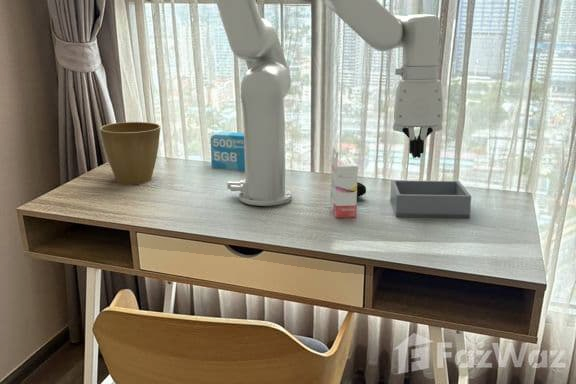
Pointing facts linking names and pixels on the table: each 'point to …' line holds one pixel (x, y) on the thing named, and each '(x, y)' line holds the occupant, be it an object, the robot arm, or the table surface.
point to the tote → (430, 199)
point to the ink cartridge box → (343, 186)
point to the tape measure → (360, 189)
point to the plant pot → (131, 150)
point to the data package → (228, 151)
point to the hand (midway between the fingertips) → (416, 156)
